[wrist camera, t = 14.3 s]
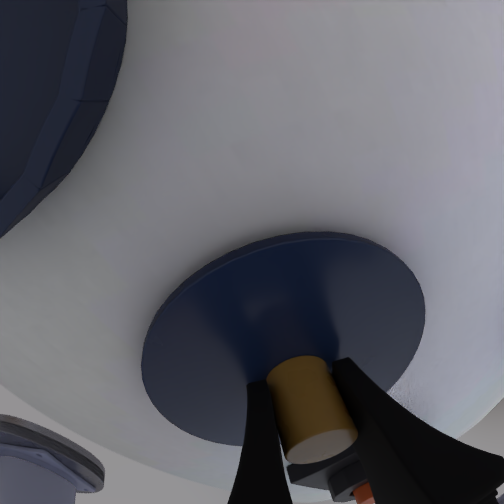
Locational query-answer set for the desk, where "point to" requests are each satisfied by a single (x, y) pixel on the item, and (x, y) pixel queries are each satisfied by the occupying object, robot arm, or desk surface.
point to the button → (364, 494)
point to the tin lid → (282, 338)
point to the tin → (52, 91)
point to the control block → (332, 475)
